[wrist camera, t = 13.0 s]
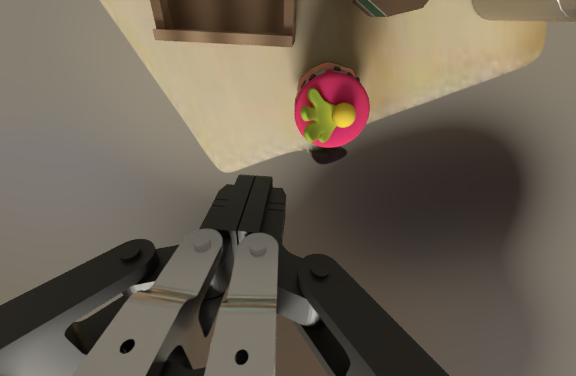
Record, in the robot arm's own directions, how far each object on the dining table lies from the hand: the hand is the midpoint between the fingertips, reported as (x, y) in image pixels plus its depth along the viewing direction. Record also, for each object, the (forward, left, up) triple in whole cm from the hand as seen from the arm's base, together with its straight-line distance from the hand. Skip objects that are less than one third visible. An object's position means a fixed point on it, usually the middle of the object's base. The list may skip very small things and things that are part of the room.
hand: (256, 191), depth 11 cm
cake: (-6, +4, -35) cm, 36 cm away
